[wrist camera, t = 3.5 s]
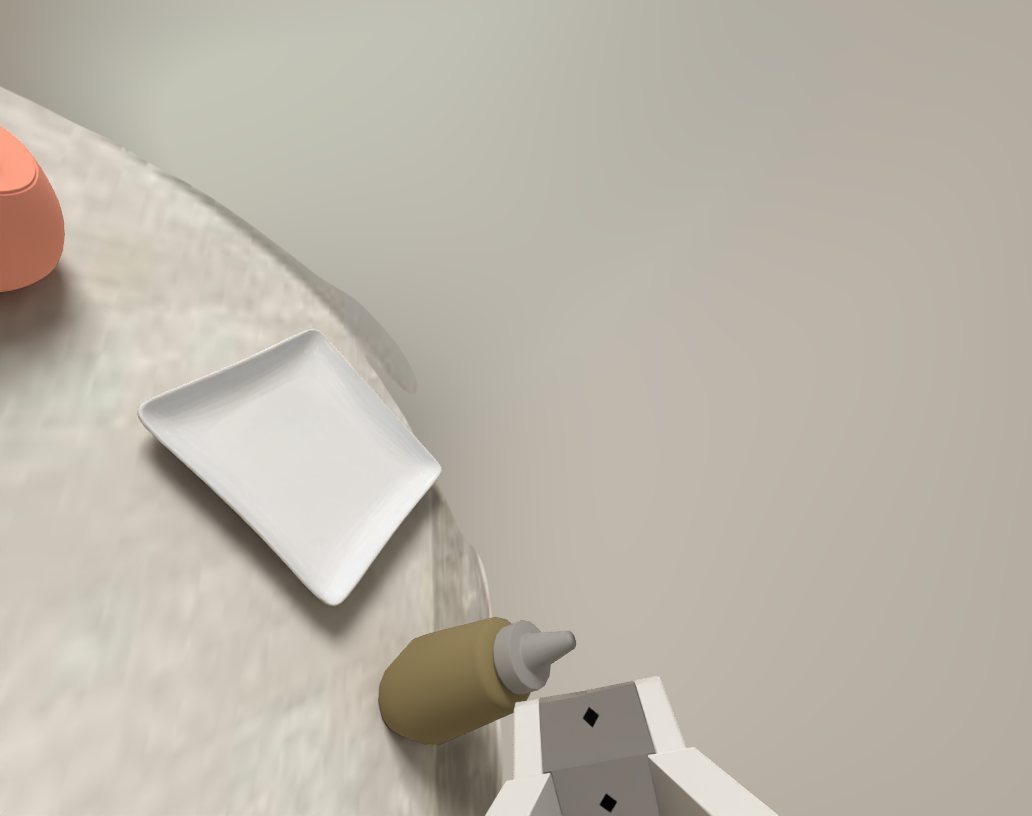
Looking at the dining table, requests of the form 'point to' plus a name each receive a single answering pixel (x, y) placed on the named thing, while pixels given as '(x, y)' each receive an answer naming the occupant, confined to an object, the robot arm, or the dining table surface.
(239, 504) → the salad plate
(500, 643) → the squeeze bottle
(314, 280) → the dining table surface
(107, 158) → the dining table surface
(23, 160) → the sugar bowl
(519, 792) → the robot arm
